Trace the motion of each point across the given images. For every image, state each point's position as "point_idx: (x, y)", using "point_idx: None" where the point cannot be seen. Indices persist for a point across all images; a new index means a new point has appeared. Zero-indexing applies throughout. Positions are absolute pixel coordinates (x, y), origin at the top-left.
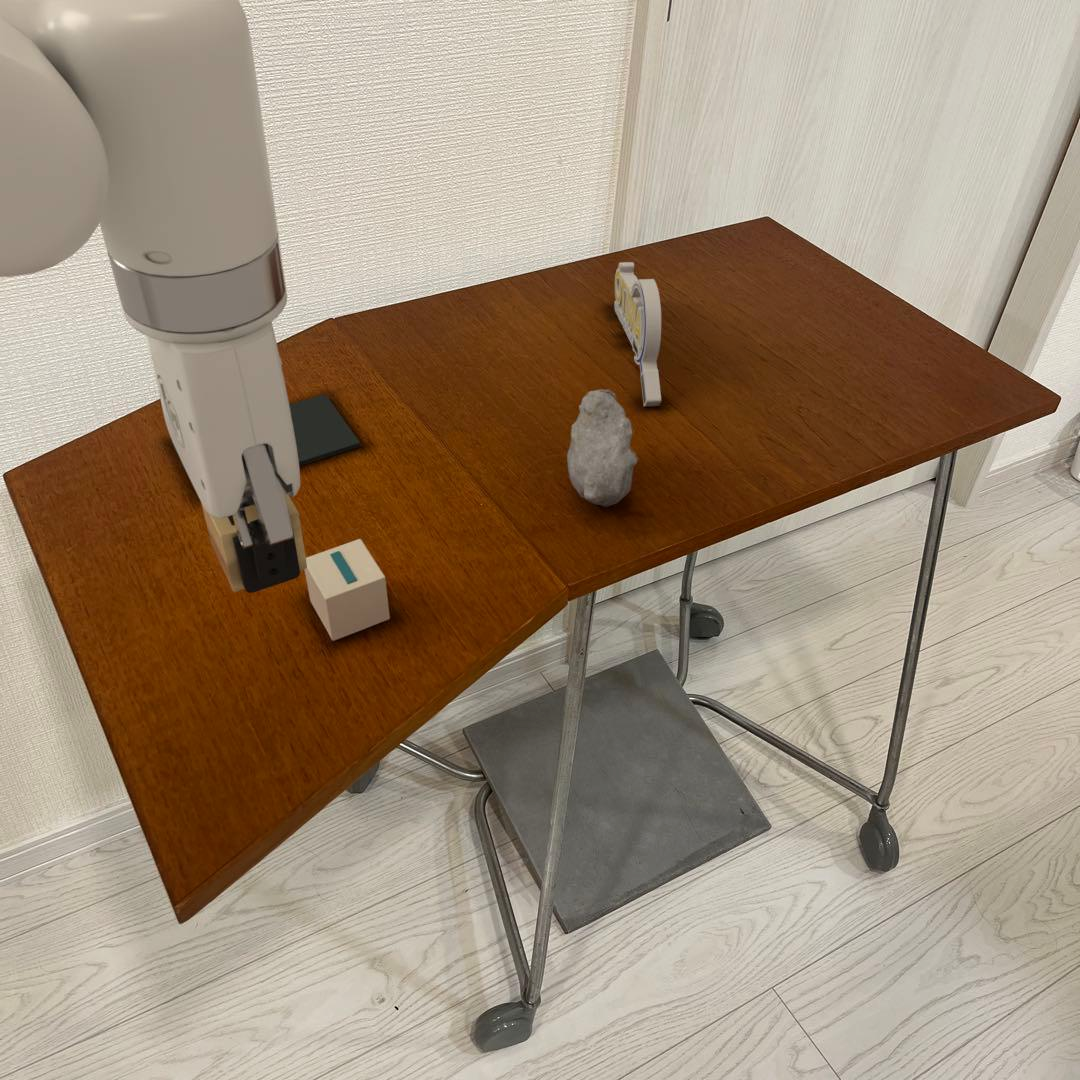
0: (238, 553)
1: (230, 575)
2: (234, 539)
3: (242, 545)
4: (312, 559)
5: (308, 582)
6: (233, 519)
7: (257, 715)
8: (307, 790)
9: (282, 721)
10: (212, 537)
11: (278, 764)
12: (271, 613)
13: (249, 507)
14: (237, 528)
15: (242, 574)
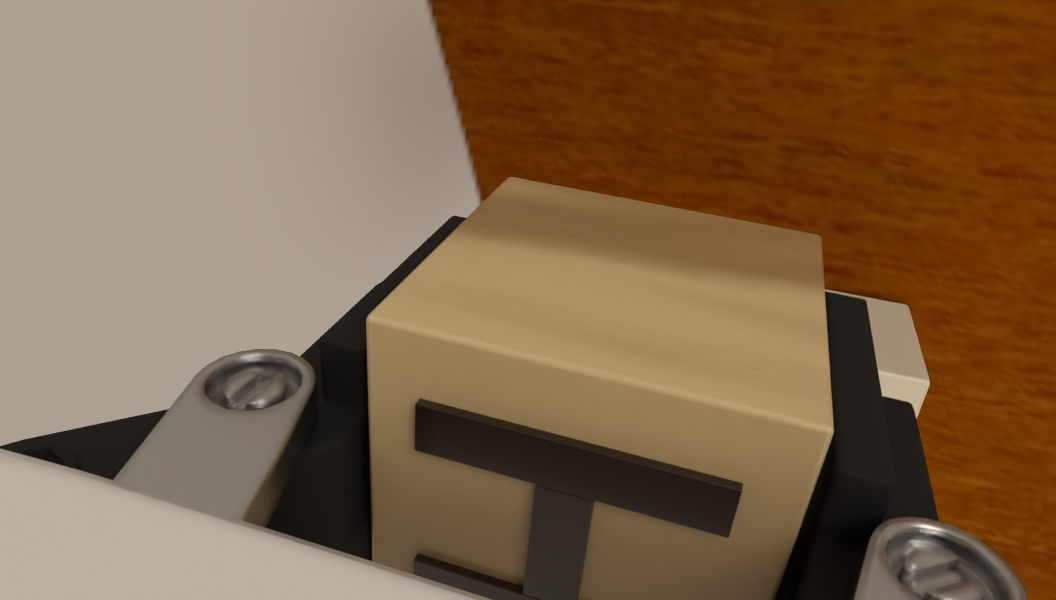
0: (354, 311)
1: (476, 211)
2: (349, 353)
3: (277, 359)
4: (905, 398)
5: (897, 340)
6: (447, 428)
7: (678, 34)
8: (445, 35)
9: (627, 74)
10: (716, 267)
11: (531, 13)
12: (949, 214)
13: (507, 520)
14: (233, 421)
15: (415, 252)
